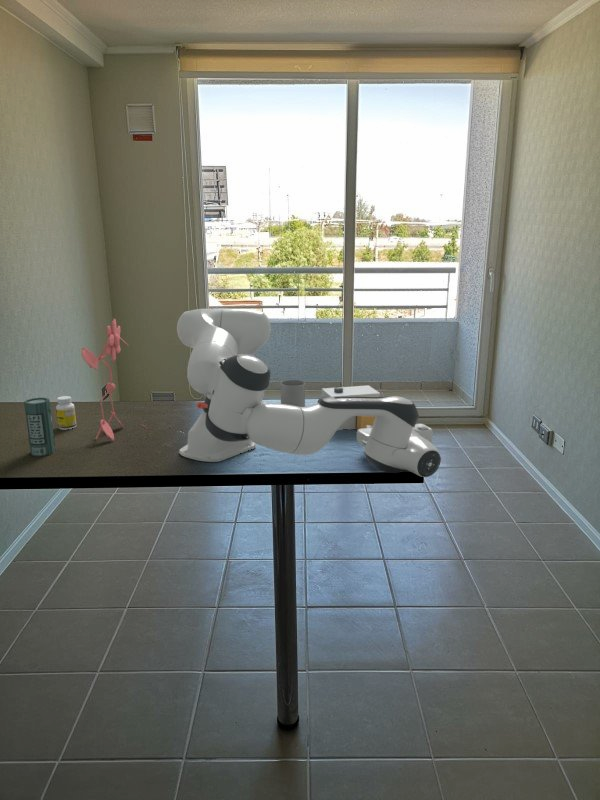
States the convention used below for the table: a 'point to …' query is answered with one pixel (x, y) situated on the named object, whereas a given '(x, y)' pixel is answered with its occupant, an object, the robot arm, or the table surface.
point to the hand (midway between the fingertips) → (382, 426)
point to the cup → (293, 393)
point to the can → (39, 426)
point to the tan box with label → (364, 421)
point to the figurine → (92, 361)
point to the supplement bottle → (65, 413)
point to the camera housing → (349, 392)
